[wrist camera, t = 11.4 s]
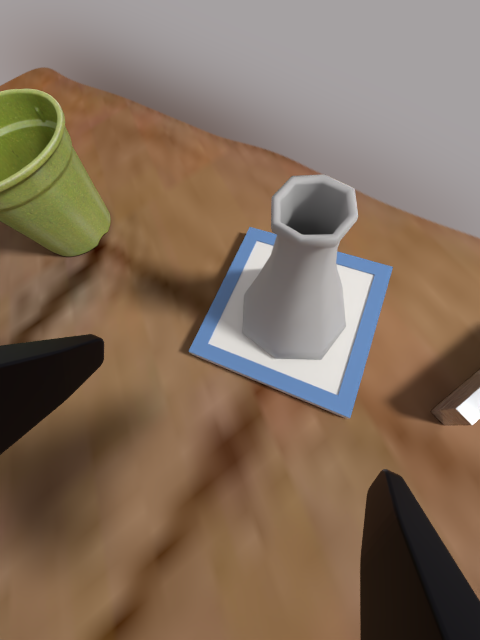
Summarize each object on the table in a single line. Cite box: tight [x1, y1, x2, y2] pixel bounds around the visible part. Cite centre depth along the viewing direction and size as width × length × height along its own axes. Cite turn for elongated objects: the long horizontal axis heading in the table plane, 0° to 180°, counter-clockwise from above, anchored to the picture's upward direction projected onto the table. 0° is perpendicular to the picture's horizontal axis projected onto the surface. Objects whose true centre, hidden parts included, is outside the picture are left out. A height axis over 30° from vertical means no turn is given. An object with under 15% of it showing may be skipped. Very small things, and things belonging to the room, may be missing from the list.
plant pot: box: [0, 89, 110, 256], centre depth 21 cm, size 9×9×9 cm
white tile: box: [189, 227, 393, 419], centre depth 20 cm, size 11×11×1 cm
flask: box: [242, 175, 358, 360], centre depth 15 cm, size 7×7×10 cm
